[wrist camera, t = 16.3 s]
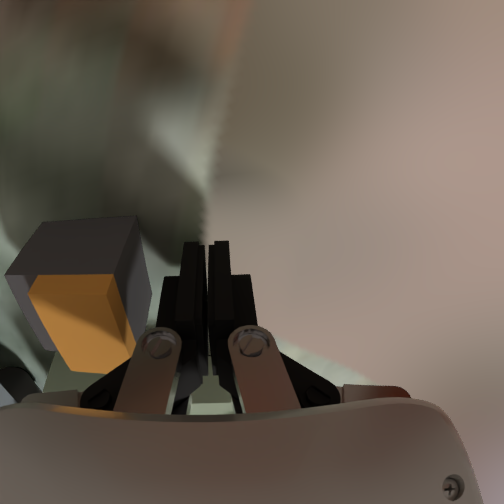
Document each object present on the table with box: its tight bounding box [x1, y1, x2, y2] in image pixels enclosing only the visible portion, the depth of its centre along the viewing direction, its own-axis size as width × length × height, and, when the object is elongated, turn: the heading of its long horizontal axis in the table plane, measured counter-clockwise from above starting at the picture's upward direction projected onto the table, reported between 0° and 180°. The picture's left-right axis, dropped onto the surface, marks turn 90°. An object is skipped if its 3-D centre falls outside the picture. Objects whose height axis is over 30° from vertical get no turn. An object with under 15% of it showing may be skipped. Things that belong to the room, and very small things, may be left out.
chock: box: [4, 216, 152, 374], centre depth 11 cm, size 4×4×4 cm
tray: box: [43, 351, 234, 415], centre depth 19 cm, size 13×13×3 cm
